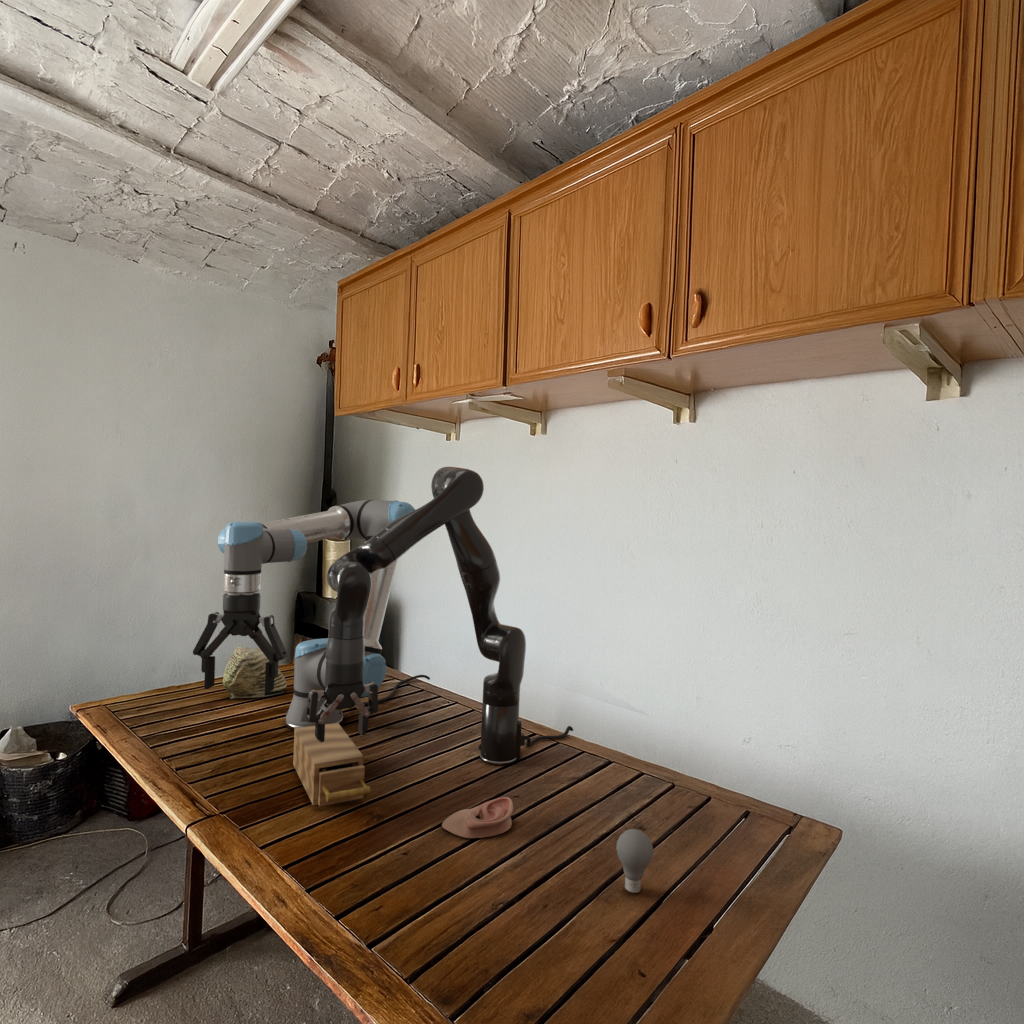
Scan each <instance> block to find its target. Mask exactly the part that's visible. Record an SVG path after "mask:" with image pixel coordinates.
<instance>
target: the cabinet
mask: <svg viewBox="0 0 1024 1024" xmlns="http://www.w3.org/2000/svg"><path fill="white" fill-rule="evenodd" d="M354 762H355V763H356V766H360V765H363V766H364V755H363V753H362V752H361V751H360V750H359V748H358V747H357V746H356V744H355V743H354V742H353V740H352V739H351V738H350V736H349V735H348V734H347V732H346V731H345V730H344V729H343V727H342V725H341V724H340V725H339V723H332V724H325V739H324V742H319V741H318V739H317V738H316V737H315V726H309V727H302V728H295V729H294V730H293V759H292V766H293V768H294V769H295V772H296V774H297V776H298V777H299V780H300V782H301V784H302V786H303V788H304V790H305V792H306V795H307V796H308V799H309V800H310V802H311V805H312V806H317V805H318V796H319V792H318V791H319V768H324V767H330V766H336V765H342V764H348V763H354ZM318 806H319V805H318Z"/></svg>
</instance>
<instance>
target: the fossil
mask: <svg viewBox="0 0 1024 1024" xmlns="http://www.w3.org/2000/svg"><path fill="white" fill-rule="evenodd" d="M268 661H269V660H268V659H267V657H266V656H265V655H264V653H263V652H262V651H261V649H260V648H259V647H258V648H251V647H247V646H246V647H245V646H238V647H237V648H236V649H235V650H233V651H232V653H231V656H230V657H229V659H228V660H227V663H226V666H225V668H224V671H223V675H222V676H223V677H222V685H223V687H224V688H225V690H226V691H228V693H229V698H230V699H250V698H264V697H271V696H275V695H281V694H284V693H285V691H286V689H287V687H288V686H287V680H286V678H285V676H284V674H283V673H282V672H281V669H279V668H278V674H277V676H275V677H274V690H272V691H271V692H269V693H265V669H266V663H267V662H268Z"/></svg>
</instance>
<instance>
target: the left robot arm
mask: <svg viewBox="0 0 1024 1024" xmlns="http://www.w3.org/2000/svg"><path fill="white" fill-rule="evenodd" d="M414 510H416V508H415V507H414V506H413V505H412V504H411V503H409V502H406V501H399V500H381V499H361V500H357V501H352V502H347V503H343V504H338V505H334V506H331V507H329V508H328V509H327V510H325V511H320V512H313V513H309V514H304V515H303V514H302V515H298V516H293V517H287V518H282V519H275V520H271V521H265V522H258V521H230V522H228V523H227V524H226V526H225V527H224V528H223V529H222V530H221V531H220V532H219V533H218V537H217V546H218V549H219V551H220V552H221V553H222V554H223V592H224V594H223V595H222V610H223V613H220V612H218V611H215V612H213V613H212V612H211V613H210V614H208V616H207V623H206V625H205V627H204V629H203V631H202V633H201V635H200V636H199V638H198V640H197V643H196V644H195V646H194V648H193V650H192V654H193V655H194V656H198V657H200V658H201V667H200V668H201V669H200V670H201V673H202V674H203V673H204V683H203V684H204V685H203V689H204V690H209V689H211V688H212V687H214V686H215V680H216V679H215V678H216V677H215V674H216V656H215V655H214V653H215V652H216V651H217V649H218V648H219V647H220V646H221V645H222V644H223V643H224V641H225V640H226V639H227V638H228V637H229V636H230V635H231V637H236V636H241V637H247V636H248V637H249V638H250V639H251V640H253V642H254V643H255V644H256V645H257V647H258V648H260V649H261V651H262V652H263V653H264V655H265V656H266V657H267V659H268V660H269V661H268V662H267V663H266V669H265V693H269V692H271V691H272V690H274V677H275V676H277V674H278V669H279V662H280V661H283V660H284V659H286V658H287V657H288V652H287V650H286V648H285V645H284V643H283V640H282V638H281V636H280V634H279V632H278V630H277V627H276V625H275V623H276V622H275V616H274V615H273V614H271V615H266V616H261V614H260V611H261V594H260V593H259V592H260V591H261V590H262V567H263V564H264V565H265V564H272V563H273V564H274V563H291V562H294V561H299V560H301V559H303V557H304V556H305V555H306V553H307V550H308V544H310V543H315V542H320V541H323V540H327V539H331V538H332V539H335V540H343V539H360V540H364V543H366V542H367V541H368V540H369V539H370V538H371V537H373V536H374V535H375V534H376V533H378V532H379V531H380V530H381V529H383V528H384V527H385V526H387V525H388V524H389V523H391V522H392V521H394V520H396V519H398V518H400V517H402V516H404V515H406V514H408V513H410V512H412V511H414ZM398 561H399V559H397V560H396V561H395V562H394V563H393V564H391V565H390V566H388V567H387V568H384V569H378V570H376V571H374V572H373V573H371V574H370V575H371V592H370V596H369V601H368V605H367V609H366V612H365V616H364V646H365V650H364V673H363V685H364V684H368V683H369V682H371V681H372V682H374V683H375V684H376V685H377V686H378V689H379V688H380V687H381V686H382V684H383V682H384V680H385V678H386V675H387V669H388V668H387V664H386V663H387V662H386V659H385V657H384V656H382V652H383V647H382V645H381V644H380V642H379V640H380V635H381V631H382V627H383V624H384V619H385V615H386V610H387V607H388V603H389V598H390V594H391V590H392V587H393V581H394V578H395V573H396V569H397V566H398V565H397V564H398ZM220 623H222V624H223V626H224V627H223V628H222V629H220V631H219V633H218V635H216V637H215V638H214V639H213V640H212V641H211V639H212V637H213V635H214V633H215V631H216V629H217V627H218V626H219V624H220ZM260 624H261V626H262V627H264V631H265V633H266V635H267V637H266V636H265V635H264V634H263V631H262V629H261V628H260V626H259V625H260ZM267 638H268V639H267ZM268 640H269V641H268ZM210 641H211V642H210ZM209 642H210V643H209ZM327 642H328V637H326V638H323V637H322V638H313V639H308V640H304V641H302V642H299V643H298V644H297V645H296V647H295V652H294V653H295V654H294V657H293V659H294V660H293V662H294V663H293V665H294V666H293V695H292V696H293V697H292V699H291V702H290V704H289V708H288V710H286V712H285V726H286V728H287V729H289V730H291V731H294V729H295V728H302V727H309V726H315V722H310V721H309V720H308V719H307V718H306V710H307V701H308V692H309V690H310V689H314V690H323V689H324V687H325V672H326V650H327ZM208 643H209V644H208ZM420 678H425V679H426V680H429V681H430V680H431V677H430V676H428V675H426V674H417V675H414V676H411V677H408V678H406V679H403V680H401V681H399V682H398V683H397V684H395V686H394V687H393V689H392V692H391V693H390V694H389V695H387V696H385V697H383V698H379V699H378V704H380V703H383V702H386V701H387V700H389V699H392V697H393V696H394V695H395V694H396V692H397V689H398V688H399V687H400V686H401V685H403V684H405V683H408V682H410V681H413V680H415V679H420ZM360 698H368V694H367V693H366V690H364V692H363V694H362V695H361V697H360ZM325 700H326V699H325V697H324V696H322V697H321V699H320V701H319V702H317V711H316V715H317V713H318V712H319V711H320V709H321V706H322V705H323V703H324V702H325ZM362 703H363V704H364V705H365V706H368V701H364V702H363V701H362ZM352 708H356V706H355V705H354V706H353V707H352ZM345 709H346V708H344V709H341V710H337V709H335V710H334V711H333V713H332V714H331V715H329V716H328V718H327V719H326V720H325V722H324V723H325V724H332V723H339V725H340V726H341V725H342V723H343V722H344V714H343V710H345Z"/></svg>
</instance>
